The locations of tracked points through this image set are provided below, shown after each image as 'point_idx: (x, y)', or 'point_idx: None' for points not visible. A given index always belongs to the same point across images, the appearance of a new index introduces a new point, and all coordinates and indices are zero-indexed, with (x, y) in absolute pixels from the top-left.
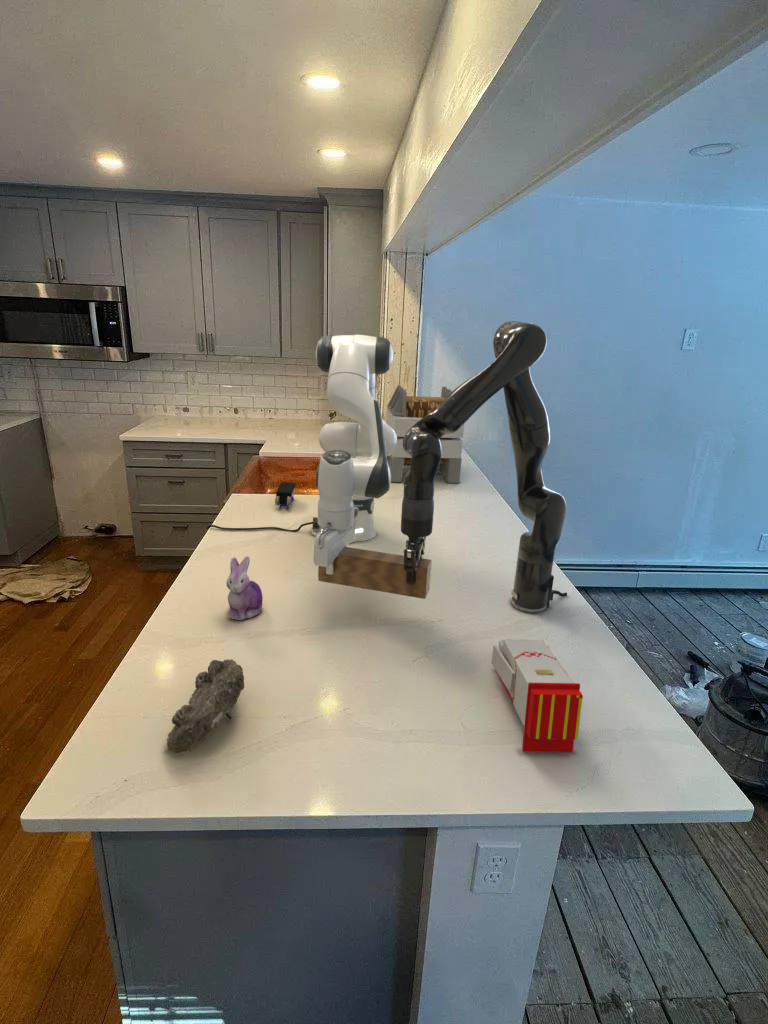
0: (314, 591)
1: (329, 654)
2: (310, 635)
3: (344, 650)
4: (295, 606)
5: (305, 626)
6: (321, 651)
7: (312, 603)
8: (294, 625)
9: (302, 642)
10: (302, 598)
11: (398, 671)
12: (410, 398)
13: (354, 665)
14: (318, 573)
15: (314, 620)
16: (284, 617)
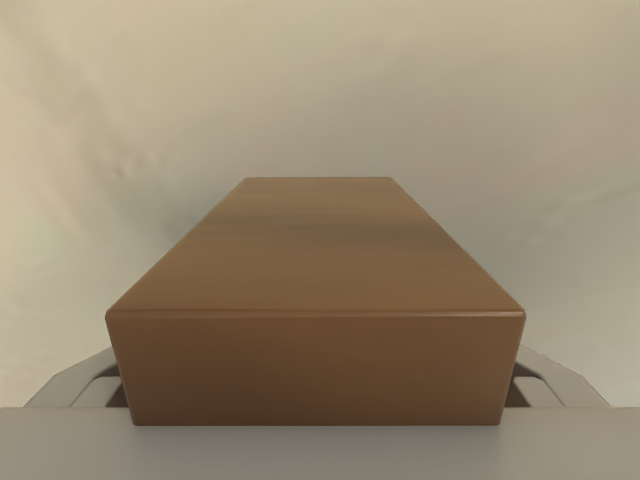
0: (462, 45)
1: (36, 293)
2: (97, 189)
3: (84, 326)
4: (281, 13)
5: (144, 143)
6: (33, 264)
7: (339, 89)
8: (126, 92)
9: (38, 180)
10: (372, 12)
11: None
12: None
13: (35, 371)
14: (231, 193)
15: (204, 160)
16: (162, 7)
